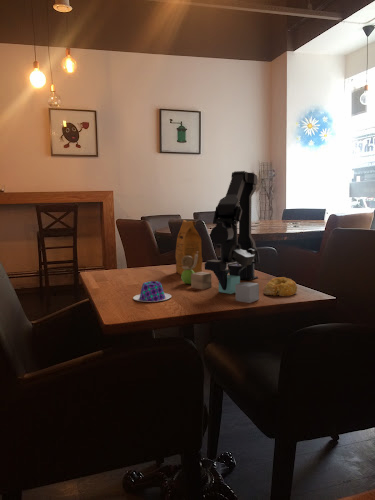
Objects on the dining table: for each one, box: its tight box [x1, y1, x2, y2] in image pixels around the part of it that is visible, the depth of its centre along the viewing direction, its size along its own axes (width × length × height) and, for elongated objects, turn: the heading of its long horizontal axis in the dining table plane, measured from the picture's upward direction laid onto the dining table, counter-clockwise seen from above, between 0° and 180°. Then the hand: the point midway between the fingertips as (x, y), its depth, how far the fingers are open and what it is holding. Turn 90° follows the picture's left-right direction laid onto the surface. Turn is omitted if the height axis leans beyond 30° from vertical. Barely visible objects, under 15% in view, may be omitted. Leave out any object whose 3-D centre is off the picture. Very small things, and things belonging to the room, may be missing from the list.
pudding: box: [132, 280, 172, 303], centre depth 130 cm, size 12×12×5 cm
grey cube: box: [235, 281, 260, 304], centre depth 125 cm, size 5×5×5 cm
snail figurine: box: [180, 251, 198, 285], centre depth 150 cm, size 5×6×12 cm
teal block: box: [218, 274, 241, 295], centre depth 136 cm, size 5×5×5 cm
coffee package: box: [175, 219, 203, 276], centre depth 171 cm, size 10×12×22 cm
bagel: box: [263, 276, 298, 297], centre depth 133 cm, size 10×11×5 cm
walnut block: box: [190, 271, 213, 290], centre depth 144 cm, size 5×5×5 cm
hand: (229, 288), depth 136 cm, fingers closed on teal block, 5 cm apart
